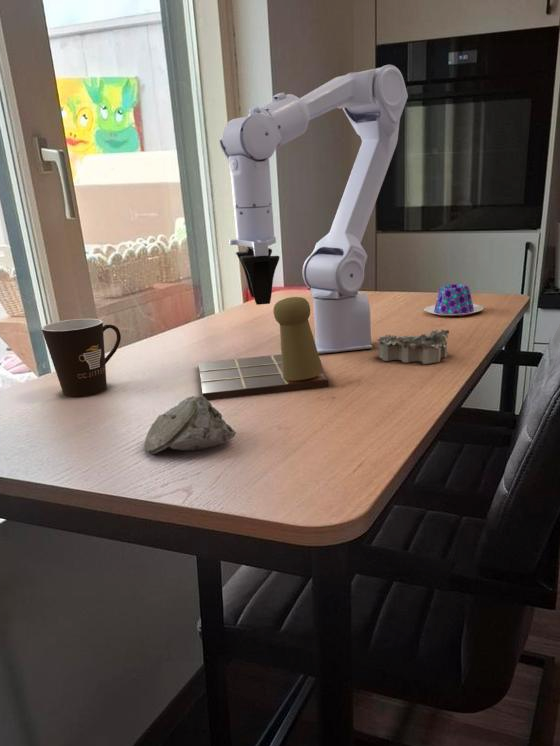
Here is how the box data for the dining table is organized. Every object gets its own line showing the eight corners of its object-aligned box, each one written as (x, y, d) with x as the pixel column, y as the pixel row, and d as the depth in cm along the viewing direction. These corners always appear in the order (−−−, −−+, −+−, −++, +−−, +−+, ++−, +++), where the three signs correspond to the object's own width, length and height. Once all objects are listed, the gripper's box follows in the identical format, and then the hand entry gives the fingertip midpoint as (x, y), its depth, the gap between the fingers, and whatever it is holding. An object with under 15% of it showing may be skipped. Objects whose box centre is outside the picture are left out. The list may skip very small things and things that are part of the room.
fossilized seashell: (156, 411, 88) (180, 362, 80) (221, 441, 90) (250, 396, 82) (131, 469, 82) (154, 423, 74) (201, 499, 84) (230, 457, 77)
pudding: (440, 305, 152) (440, 280, 150) (492, 308, 145) (494, 282, 143) (413, 315, 143) (413, 289, 141) (468, 319, 137) (469, 292, 134)
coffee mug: (60, 403, 101) (45, 333, 97) (51, 389, 108) (37, 324, 104) (140, 388, 106) (129, 321, 101) (126, 376, 113) (115, 313, 108)
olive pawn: (317, 378, 99) (304, 300, 94) (277, 382, 101) (262, 305, 96) (327, 366, 104) (315, 291, 99) (289, 369, 106) (276, 296, 101)
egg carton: (452, 354, 113) (453, 329, 112) (434, 366, 107) (435, 339, 106) (392, 349, 118) (392, 325, 117) (372, 360, 113) (371, 335, 111)
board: (307, 357, 117) (307, 350, 116) (328, 386, 101) (328, 379, 100) (199, 368, 114) (198, 361, 114) (203, 400, 98) (202, 392, 98)
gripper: (223, 207, 110) (231, 295, 116) (229, 210, 97) (238, 309, 103) (267, 204, 111) (273, 292, 117) (279, 207, 98) (286, 305, 104)
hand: (260, 300), depth 110 cm, fingers open, 7 cm apart
